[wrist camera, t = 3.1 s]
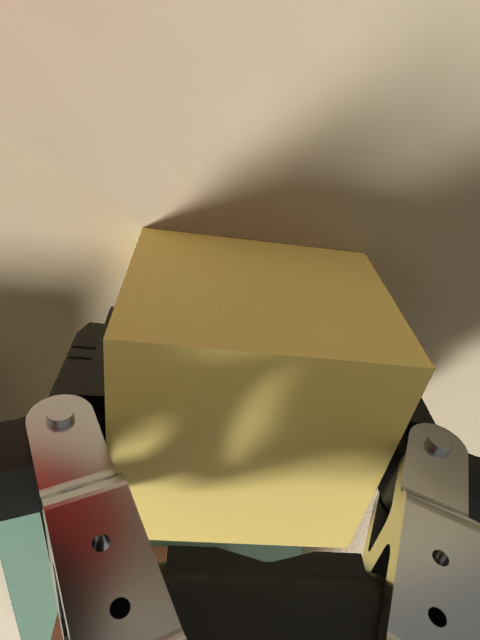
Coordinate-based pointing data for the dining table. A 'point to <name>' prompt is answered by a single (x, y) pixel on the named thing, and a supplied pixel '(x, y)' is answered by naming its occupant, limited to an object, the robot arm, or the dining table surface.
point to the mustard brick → (255, 388)
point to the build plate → (36, 580)
